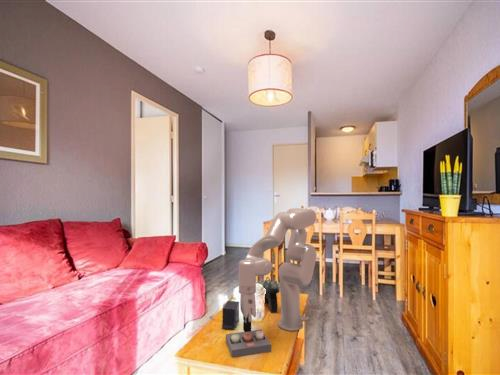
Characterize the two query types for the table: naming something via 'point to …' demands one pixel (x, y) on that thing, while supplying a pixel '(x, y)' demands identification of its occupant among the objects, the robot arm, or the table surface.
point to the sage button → (235, 338)
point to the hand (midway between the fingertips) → (247, 330)
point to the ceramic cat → (271, 294)
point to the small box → (230, 315)
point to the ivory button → (259, 335)
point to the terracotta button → (247, 337)
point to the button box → (248, 345)
